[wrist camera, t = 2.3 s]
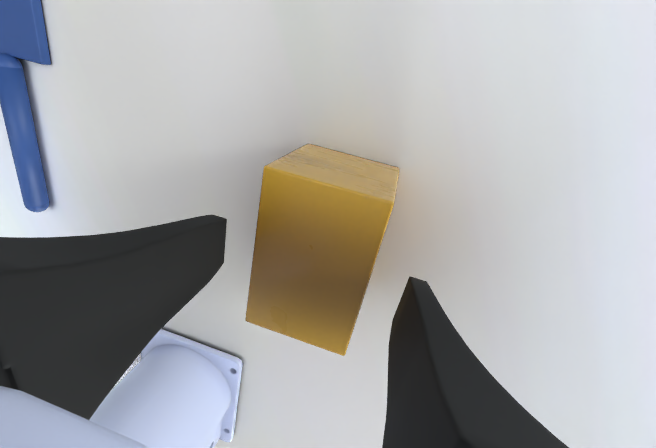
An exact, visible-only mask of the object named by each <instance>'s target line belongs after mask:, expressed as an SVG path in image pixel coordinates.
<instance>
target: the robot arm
mask: <svg viewBox="0 0 656 448" xmlns="http://www.w3.org/2000/svg"><path fill="white" fill-rule="evenodd" d="M226 223H227V219H225V218H222V217H218V216H215V215H206V216H200V217H194V218H190V219H185V220H180V221H176V222H171V223H167V224H162V225H157V226H151V227H146V228H141V229H135V230H130V231H123V232H116V233H108V234H99V235H88V236H70V237H50V238H9V237H0V448H214V447H215V445H216V443H217V441H218V440H219V439H220V440H223V441H225V442H230V441H231V440H232V438H233V436H234V429H235V421H236V413H237V405H238V397H239V389H240V381H241V373H242V365H243V364H242V361H241V360H240V359H239V358H238V357H235V356H232V355H230V354H227V353H224V352H222V351H219V350H216V349H214V348H211V347H208V346H206V345H203V344H200V343H198V342H195V341H192V340H190V339H187V338H184V337H182V336H179V335H176V334H174V333H171V332H168V331H166V330H163V329H161V328H162V327H163V326H164V325H165V324H166V323H167V322H168V321H169V320H170V319H171V318H172V317H173V316H174V315H175V314H176V313H177V312H179V311H180V310H181V309H182V308H183V307H184V306H185V305H186V304H187V303H188V302H189V301H190V300H191V299H192V298H193V297H194V296H195V295H196V294H197V293H198V292H199V291H200V290H201V289H202V288H203V287H204V286H205V285H206V284H207V283H208V282H209V281H210V280H211V279H212V278H213V276H214V275H215V274H216V273H217V271H218V270H219V269H220V267H221V266H222V264H223V263H224V251H225V237H226ZM140 353H141V358H142V360H141V361H140V362H139V363H138V364H137V365H136V366H135V367H134V368H133V369H132V370H131V371H130V372H129V373H128V374H127V375H126V376H125V377H124V378H123V379H122V380H121V381H120V382H119V383H118V384H117V385H116V386H115V384H116V383H117V382H118V380H119V379H120V378H121V376H122V375H123V374H124V373H125V371H126V370H127V369H128V368H129V366H130V365H131V364H132V363H133V361H134V360H135V359H136V358H137V356H138V355H139V354H140ZM114 386H115V387H114ZM113 387H114V388H113ZM112 388H113V389H112ZM382 448H569V447H567V446H566V445H565V444H564V443H562V442H561V441H560V440H559V439H558V438H556V437H555V436H554V435H553V434H552V433H551V432H550V431H548V430H547V429H546V428H545V427H544V426H543V425H542V424H541V423H540V422H538V421H537V420H536V419H535V418H534V417H533V416H532V415H531V414H530V413H528V412H527V411H526V410H525V409H524V408H523V407H522V406H521V405H520V404H519V403H518V402H517V401H516V400H515V399H514V398H513V397H512V396H511V395H510V394H509V393H508V392H507V391H506V390H505V389H504V388H503V387H502V386H501V385H500V384H499V383H498V382H497V380H496V379H495V378H494V377H493V376H492V375H491V374H490V373H489V372H488V371H487V369H486V368H485V367H484V366H483V365H482V363H481V362H480V361H479V360H478V359H477V357H476V356H475V355H474V354H473V353H472V351H471V350H470V349H469V347H468V346H467V345H466V343H465V342H464V341H463V339H462V338H461V336H460V335H459V334H458V332H457V331H456V329H455V328H454V326H453V325H452V323H451V322H450V320H449V319H448V317H447V315H446V314H445V312H444V310H443V309H442V307H441V305H440V304H439V302H438V300H437V299H436V297H435V295H434V293H433V292H432V290H431V288H430V286H429V285H428V283H427V282H426V281H423V280H420V279H417V278H413V277H409V280H408V282H407V285H406V287H405V290H404V292H403V295H402V297H401V300H400V303H399V305H398V308H397V310H396V313H395V315H394V318H393V322H392V328H391V334H390V341H389V357H388V393H387V414H386V423H385V431H384V439H383V447H382Z"/></svg>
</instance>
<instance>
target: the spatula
mask: <svg viewBox="0 0 656 448" xmlns="http://www.w3.org/2000/svg"><path fill="white" fill-rule="evenodd" d="M15 57H16V58H15ZM17 58H20V59H24V60H28V61H32V62H35V63H39V64H46V65H50V64H51V61H50V55H49V49H48V43H47V37H46V30H45V24H44V18H43V12H42V5H41V0H0V104H1V108H2V113H3V117H4V121H5V125H6V130H7V134H8V138H9V142H10V147H11V151H12V155H13V159H14V164H15V168H16V172H17V176H18V180H19V185H20V189H21V193H22V197H23V202H24V205H25V207H26V208H27V209H28V210H30V211H33V212H41V211H44V210H46V209H47V208H48V206H49V198H48V193H47V188H46V183H45V178H44V173H43V168H42V162H41V157H40V152H39V147H38V142H37V137H36V132H35V127H34V122H33V117H32V112H31V107H30V101H29V96H28V91H27V86H26V81H25V76H24V71H23V67H22V64H21V62H20V61H19V60H18V59H17Z"/></svg>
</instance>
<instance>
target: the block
mask: <svg viewBox="0 0 656 448" xmlns="http://www.w3.org/2000/svg"><path fill="white" fill-rule="evenodd" d="M398 176H399V168H398V167H394V166H391V165H387V164H383V163H379V162H376V161H372V160H368V159H364V158H360V157H357V156H353V155H349V154H345V153H342V152H338V151H334V150H330V149H327V148H323V147H319V146H315V145H312V144H306V145H304V146H302V147H300V148H299V149H297V150H295V151H293V152H291V153H289V154H287V155H285V156H283V157H281V158H279V159H277V160H275V161H273V162H271V163H270V164H268V165H266V166H264V171H263V179H262V187H261V196H260V204H259V212H258V220H257V229H256V237H255V245H254V254H253V262H252V270H251V278H250V287H249V295H248V303H247V311H246V321H247V322H250V323H253V324H255V325H258V326H261V327H264V328H267V329H269V330H272V331H275V332H278V333H281V334H283V335H286V336H289V337H292V338H295V339H297V340H300V341H303V342H306V343H309V344H312V345H314V346H317V347H320V348H323V349H326V350H328V351H331V352H334V353H337V354H340V355H342V356H344V355H345V354H346V350H347V347H348V344H349V341H350V338H351V335H352V332H353V329H354V326H355V323H356V320H357V317H358V314H359V310H360V307H361V304H362V301H363V298H364V295H365V292H366V289H367V286H368V283H369V280H370V277H371V273H372V270H373V267H374V264H375V261H376V258H377V255H378V252H379V249H380V246H381V243H382V240H383V236H384V233H385V230H386V227H387V224H388V221H389V218H390V215H391V212H392V209H393V206H394V201H395V195H396V188H397V182H398Z"/></svg>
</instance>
